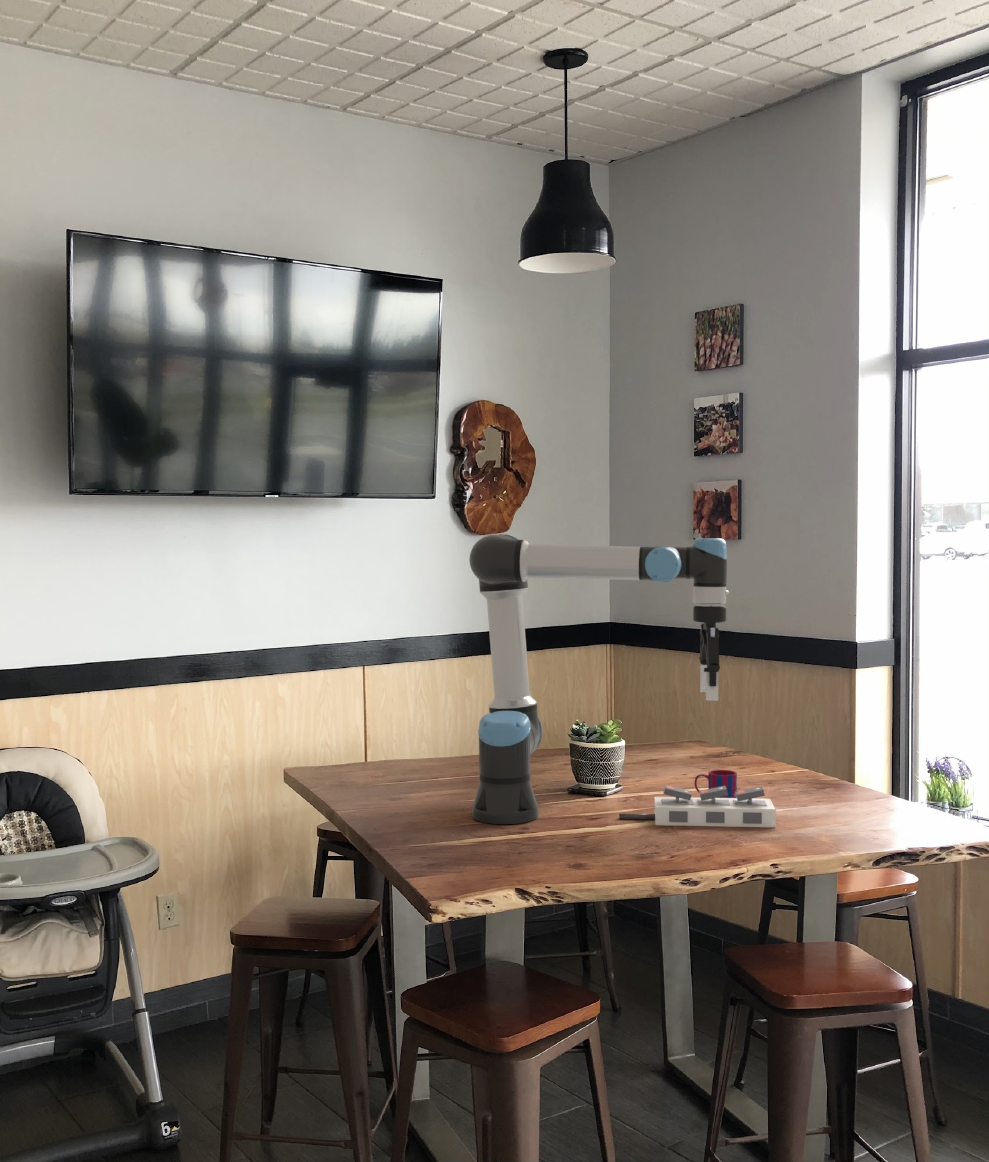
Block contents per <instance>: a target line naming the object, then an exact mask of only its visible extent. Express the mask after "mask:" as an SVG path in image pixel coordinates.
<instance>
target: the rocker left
mask: <svg viewBox="0 0 989 1162" xmlns="http://www.w3.org/2000/svg"><path fill="white" fill-rule="evenodd" d="M662 791H663V795H665V796H668V797H677V798H681V799H686V800H690V799H691V797H692V792H691V790H688V789H684V788H679V787H675V786H671V785H667V784H664V786H663V790H662Z"/></svg>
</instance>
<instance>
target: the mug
mask: <svg viewBox="0 0 989 1162" xmlns="http://www.w3.org/2000/svg"><path fill="white" fill-rule="evenodd" d="M695 776H696V777H695V779H694V787H695V790H696V792H698V793H699V791H701V790H699V787H698V785H697V784H698V783H697V782H698V781H697V780H698V779H699V778H700V777H705V778H706V779H707V780H708V786H707V787H708V788H707V789H711V788H716V787H721V786H726V789H727V793H728V795H727V796H722V797H717V798H736V794H735V792H736V791H738V784H737V783H738V780H737V779H738V772H736V771H734V770H730V769H713V770H709V771H708V775H707V774H705V773H704V774H703V773H701V774H698V775H695Z"/></svg>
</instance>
